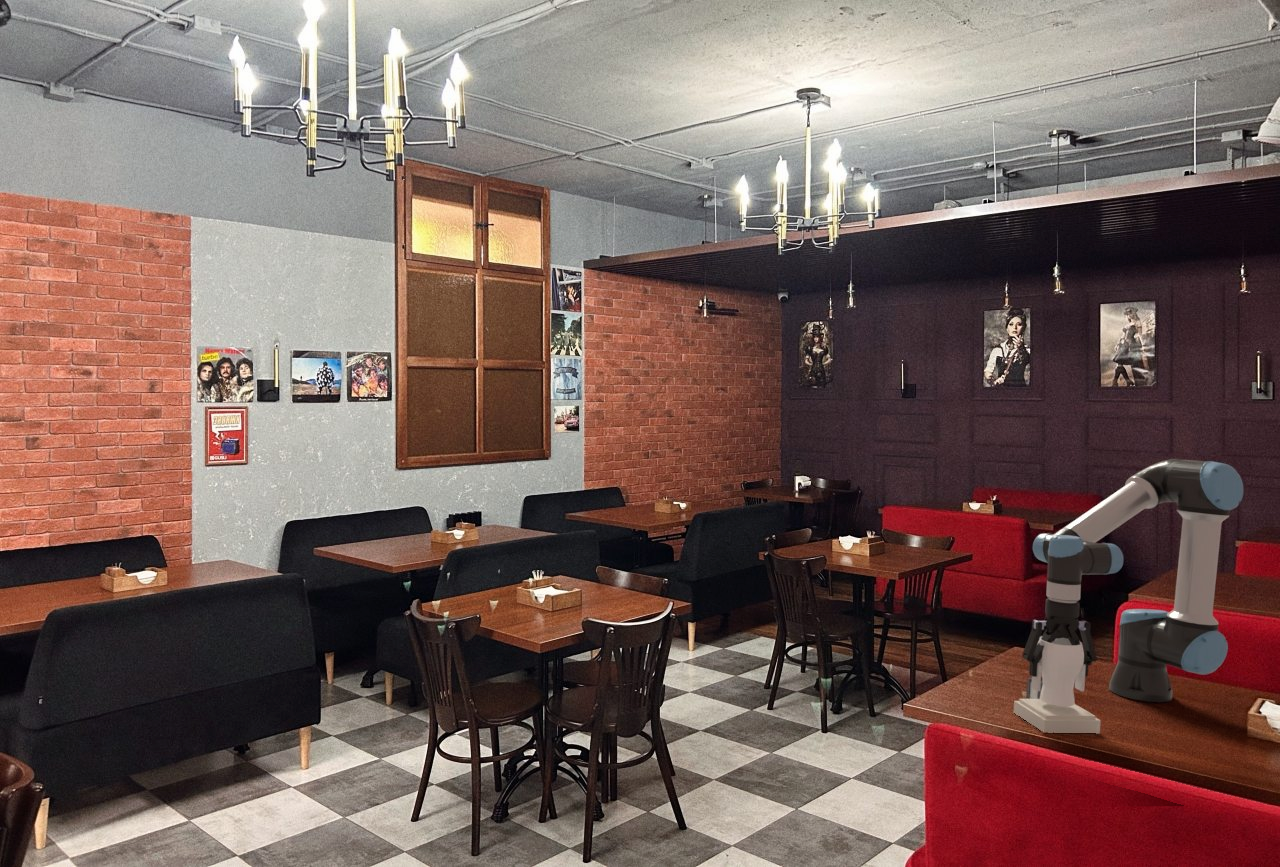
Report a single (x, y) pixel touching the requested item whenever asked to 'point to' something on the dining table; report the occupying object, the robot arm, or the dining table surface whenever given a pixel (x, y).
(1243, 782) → the dining table surface
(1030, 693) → the napkin holder
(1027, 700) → the pedestal
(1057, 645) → the cup
